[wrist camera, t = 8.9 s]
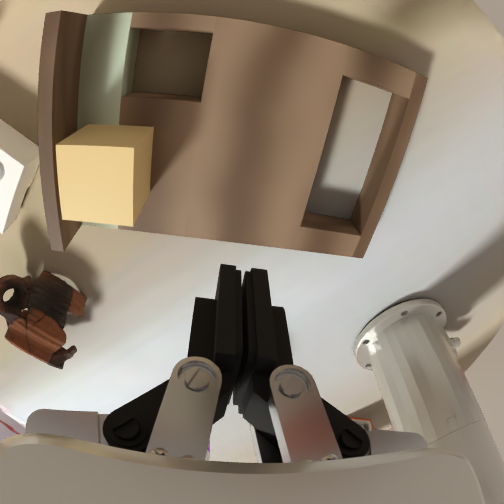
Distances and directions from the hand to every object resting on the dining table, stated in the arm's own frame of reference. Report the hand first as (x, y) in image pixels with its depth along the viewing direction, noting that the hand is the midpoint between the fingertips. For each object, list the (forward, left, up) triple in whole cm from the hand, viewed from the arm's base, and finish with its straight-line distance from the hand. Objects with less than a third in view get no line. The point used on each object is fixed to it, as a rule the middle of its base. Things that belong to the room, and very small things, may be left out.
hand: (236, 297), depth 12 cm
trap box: (0, -3, -13) cm, 13 cm away
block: (+8, -1, -11) cm, 13 cm away
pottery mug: (+18, +16, -13) cm, 27 cm away
